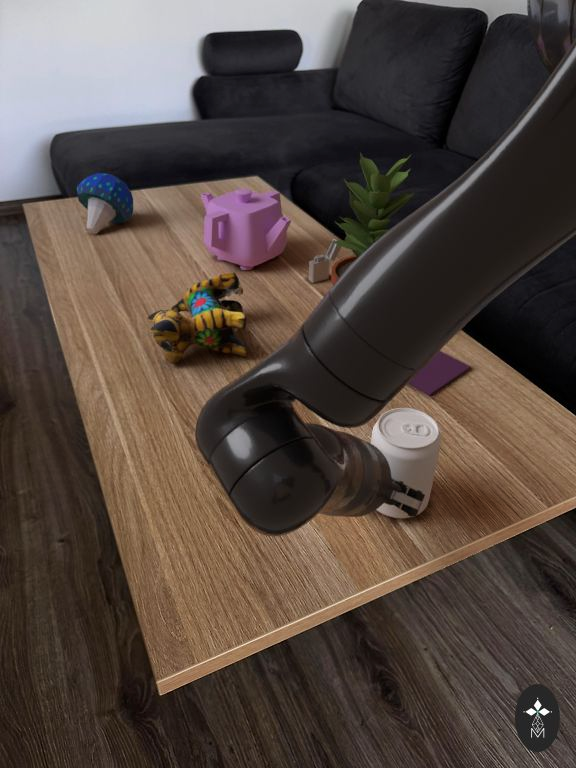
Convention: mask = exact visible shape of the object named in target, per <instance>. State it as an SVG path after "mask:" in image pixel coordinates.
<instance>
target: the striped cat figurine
mask: <svg viewBox="0 0 576 768" xmlns="http://www.w3.org/2000/svg"><path fill="white" fill-rule="evenodd" d="M232 294H235V295H236V296H237V295H238V297H240V296H241V295H243V294H244V288H243V286H242V283H241V281H240V279H239V277H238V275H237V274H236V272H233V271H230V272H227V273H223V274H219V275H216V276H214V277H213V278H210V279H209V278H208V279H205V280H202V281H199V282H197V283H195V284H193V285H192V286H191V287H190V288H189V289H188V291H187V292H186V294H185V295H184V296H183V297H182V298H181V299H180V300H178V302H176V303H175V304H173V305H172V306H171V307H170V309H165V310H164V309H160V310H157V311H155V312H153V313H151V314H150V315H149V316H147V318H146V319H147V321H149V322H151V323H153V325H152V327H151V328H150V330H149V333H150V334H152V335H153V340H154V341H155V343H156V344H157V345H158V346H159V347H160V348H162V350H163V352H164V359H165V360H166V361H167V362H168V363H169V364H171V365H176V364H178V363H179V362H180V360H181V359H182V358H183V356H184V354H185V353H186V351H187V350H188V349H189V348H190V346H192V345H197V346H201V347H204V348H206V349H210V350H212V351H215V352H221V353H224V354H231V355H237V356H240V357H243V358H247V356H248V348H247V344H246V343H245V342H244V341H243V340H242V339H240V338H239V337H238V336H236V334H235V333H234V332H237V331H238V330H240V331H241V330H244V329H245V328H246V326H247V316H246V314H245V313H244V308H243V306H242V303H241V302H239V301H237V300H234V299H233V300H232V299H223V298H226V297H228V298H230V297H231V296H232ZM221 299H222V300H221ZM181 312H187V313H189V314H190V316H191V317H187V316H185V315H184V314H182V313H181Z"/></svg>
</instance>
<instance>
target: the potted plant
mask: <svg viewBox="0 0 576 768" xmlns="http://www.w3.org/2000/svg"><path fill="white" fill-rule="evenodd" d="M359 154H360V159H359V164H360V167H361V170H362V173H363V175H364V178H365V181H366V187H365V188H364V187H363V186H362V185H360V184H359V183H357V182H353V181H351V182H350V181H347V180H346V179H345V178H343V181H344V182H345V184H346V186H347V187H348V189H349V190H348V192H349V204H350V207H351V209H352V210H353V212H354V214H355V216H356V217H357V219H358V221H359V222H360V223H359V222H358V221H356V220H354V219H353V218H350V217H344V218H343V217H341V216H339V218H340V219H341V220H343V221H344V222H342V223H339V222H336V221H335V220H334V222H335V224H336V225H338V227H339V228H341V229H342V230H344V232H345V235H346V236H345V238H344V239H343V240H342V239H337V240H338V241H336V242H333V243H335V244H337V245H339V246H341V248H345V249H349V250H351V251H352V253H353V254H354V255H349V256H347V257H343V258H341V259H339V260H337V261H336V262H334V264H333V265H332V267H331V277H330V279H331V281H330V282H331V285H332V286H333V285H334V284H335V283H336V281H337V280H338V279H339V278H340V276H341V275H342V274H343V273H344V272H345V271H346V269H347V268H348V267H349V266H350V265H351V264H352V263H353V262H354V261H355V260H356V259H357V258H358V257H359V256H360V254H361V253H362V252H364V251H365V250H366V249H367V248H368V247H369V246H370V245H371V244H372V243H373V242H375V241H376V240H377V239H378V238H379V237H381V236H382V235H383V234H384V233H385V232H387V231H388V230H389V229H390V228H389V229H386V228H387V226H388V225H389V224H390V222H391V221H392V219H391V218H390V217H391V216H392V215H394V214H395V213H396V212H397V211H398V210H399V209H401V208H402V207H403V206H404V205H406V203H408V202H409V200H411V198H413V196H414V194H415V193H416V192H415V191H414V192H413V193H410V194H409V193H402V194H400V195H398V196H396V197H395V198H393V199H392V200H390V198H391V194H392V193H393V192H394V191H395V190H396V189H397V188H398V187H399V186H400V185H401V184H402V183H403V182H404V180H406V179H407V178H408V176H409V173H410V171H411V168H409V169H408V170H406V171H399V170H400V169H401V168H402V167H403V166H404V165H405V163H406V162H407V161H408V159H410V157H411V156H412V154H410V155H409V156H408V157H407V158H401V159H399V160H398V161H397V162H395V163H394V164H393V166H392V167H390V169H389V170H388V172H387V173H386V174H385V175H384V174H380V171H379V169H378V167H377V165H376V164H375V162H374V161H373V160H372V159H369V158H367V157H364V156H363V154H362V153H361V152H359ZM389 218H390V219H389ZM329 242H330V243H332V240H329Z"/></svg>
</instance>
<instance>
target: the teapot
mask: <svg viewBox="0 0 576 768" xmlns="http://www.w3.org/2000/svg"><path fill="white" fill-rule="evenodd" d="M200 197H201V201H202V203H203V206H204V209H205V212H206V214H205V215H204V219H203V220H204V222H203V223H204V224H203V227H204V228H203V244H205V246H206V248H207V250H208V252H210V254H212V255H214V256H216V259H217V260H218V261H226V262H229V263H232V264H236V265H239V269H241V270H242V271H243V270H244V271H250V270H253V269H254V267H255V266H258V265H261V264H263V263H265V262H267V261H270V260H272V259H275V258H276V257H277V256H279V255H281V254H282V253H283V252H284V251H285V248H286V246H287V242H288V235H287V231H288V230H289V227H290V225H291V222H292V219H290V218H288V216H284V215H283V210H282V209H283V208H282V202H281V192H280V191H276V190H273V189H271V190H269V191H266V192H264V193H259V192H254V191H252V190H251V189H248V188H239V189H236V190H233V191H230V192H228V193H224V194H222V195H219V196H216V197H214V196H213V195H212V193H211V192H210V193H209V192H203V193H201V194H200Z"/></svg>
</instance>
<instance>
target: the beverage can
mask: <svg viewBox="0 0 576 768" xmlns="http://www.w3.org/2000/svg"><path fill="white" fill-rule="evenodd" d="M441 435H442V434H441V432H440V428H439V425H438V423H437V422H436V420H435V419H434V418H432V417H431V415H429V414H428V413H427V412H426V413H425V412H423V411H422V410H419V409H416V408H412V407H411V408H410V407H397V408H392V409H389V410H387V411H385V412H383V413H382V414H381V415H380V416H379V417H378V420H377V421H376V422H375V423H374V424H373V428H372V431H371V438H370V444H372V445H374V446H375V447H377V448H378V449H379V450H380V451H381V452H382V453H383V454H384V456H385V457H386V459H387V461H388V463H389V466H390V470H391V476H392V479H394V483H395V481H398V482H399V481H402V482H404V483H403V484H405V485H407V486H409V487H411V488H413V489H415V490H417V491H418V490H419V491H421V492H422V493H423V494H425V497H424V499H423V501H422V504H421V506H420V509H419V511H418V513H417V516H418V515H420V514H421V513H422V512H424V511H425V509H426V508H427V507H428V505H429V503H430V502H429V501H430V497H431V493H432V488H433V483H434V479H435V474H436V468H437V466H438V460H439V455H440V451H441V446H442V436H441ZM375 511H377V512H378V513H380V514H382V515H384V516H387V517H390V518H395V519H407V518H408V519H410V518H414V516H412V517H411V516H409V515H408V514H407V513H405V512H404V511H402V510H400V509H398V507H396V506H394V505H388V504H385V503H384V504H382V505H381V506H380V507H379V508H378V509H376V510H375Z"/></svg>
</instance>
